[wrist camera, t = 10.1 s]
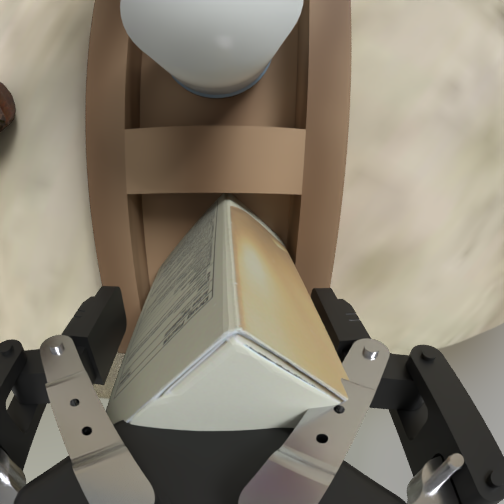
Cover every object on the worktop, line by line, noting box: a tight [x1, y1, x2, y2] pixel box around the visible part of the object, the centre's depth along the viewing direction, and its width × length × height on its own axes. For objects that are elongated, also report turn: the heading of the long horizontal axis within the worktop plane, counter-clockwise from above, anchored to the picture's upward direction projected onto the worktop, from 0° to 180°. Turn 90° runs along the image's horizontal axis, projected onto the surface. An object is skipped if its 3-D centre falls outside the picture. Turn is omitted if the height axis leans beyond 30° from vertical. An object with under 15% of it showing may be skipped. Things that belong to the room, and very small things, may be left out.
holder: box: [86, 0, 351, 353], centre depth 14 cm, size 12×22×3 cm, turn 178°
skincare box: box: [106, 193, 349, 431], centre depth 12 cm, size 6×4×12 cm
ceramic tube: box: [120, 0, 304, 99], centre depth 10 cm, size 5×5×8 cm
